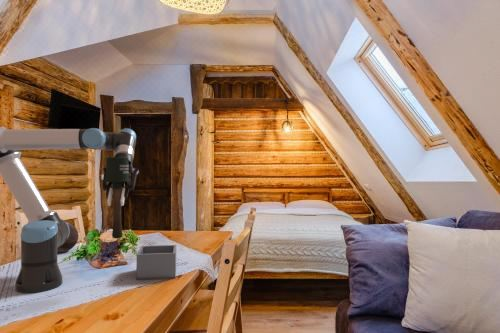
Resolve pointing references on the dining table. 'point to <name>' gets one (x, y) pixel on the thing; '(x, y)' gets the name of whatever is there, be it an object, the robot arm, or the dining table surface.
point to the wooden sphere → (69, 240)
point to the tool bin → (156, 262)
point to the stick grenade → (117, 187)
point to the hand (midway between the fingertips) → (115, 203)
